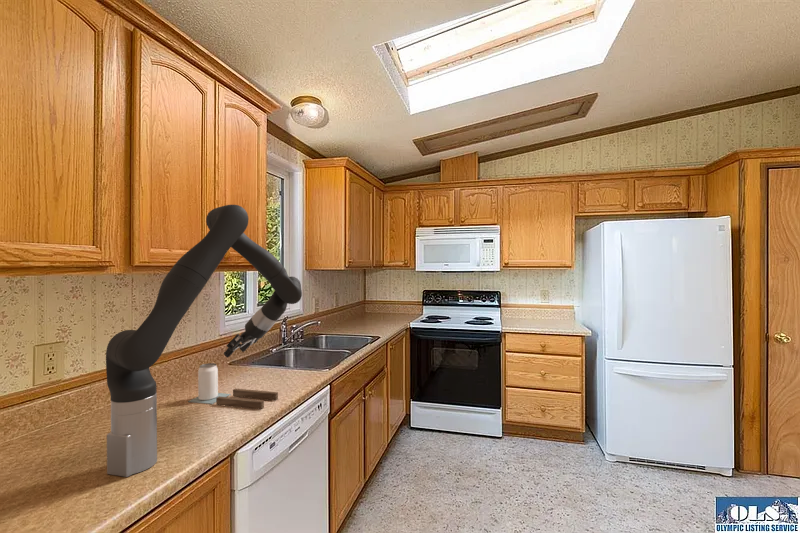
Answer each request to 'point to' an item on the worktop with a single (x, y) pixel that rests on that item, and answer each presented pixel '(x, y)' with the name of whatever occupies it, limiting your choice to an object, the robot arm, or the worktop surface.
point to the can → (207, 381)
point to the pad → (212, 401)
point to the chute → (247, 402)
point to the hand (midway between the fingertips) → (233, 352)
